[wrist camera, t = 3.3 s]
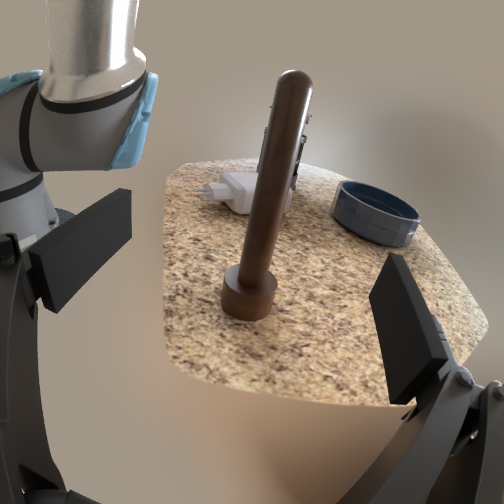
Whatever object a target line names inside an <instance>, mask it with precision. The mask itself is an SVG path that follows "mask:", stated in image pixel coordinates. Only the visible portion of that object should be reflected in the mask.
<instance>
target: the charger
mask: <svg viewBox="0 0 504 504" xmlns="http://www.w3.org/2000/svg"><path fill="white" fill-rule="evenodd" d="M257 176H258V173H251V172H224V173H223V174H222V175H221V176H220V182H219V183H207V184H204V186H203V188H204V189H194V191H195V192H197V191H204V193H198V194H197V195H198V196H202V195H205V196H206V197H207V199H208V200H209V201H210V202H221V201H224V202H225V203H226V204H227V205H228V206H229V207H230V208H231V209H232V210H233V211H235V212H236V213H238V214H250V211H251V206H252V201H253V196H254V191H255V186H256V181H257ZM292 196H293V191H292V189H291V188H290V189H289V193H288V197H287V200H286V204H285V208H284V212H283V213H287V212H288V211H289V208H290V204H291V200H292Z"/></svg>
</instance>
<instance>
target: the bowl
mask: <svg viewBox="0 0 504 504" xmlns="http://www.w3.org/2000/svg"><path fill="white" fill-rule="evenodd" d="M331 211H332V214H333V215H334V216H335V217H336V218H337V219H338V220H339V222H340V223H341V224H342V225H343V226H345V227H346V228H347V229H349V230H350V231H352V232H353V233H355V234H357V235H359V236H360V237H363V238H365V239H367V240H369V241H372V242H374V243H378V244H381V245H385V246H391V247H398V246H399V247H403V246H408V245H410V243H411V242H412V240H413V238H414V236H415V233H416V231H417V229H418V227H419V224H420V222H421V219H422V216H421V214H420V213H419V212H418V211H417V210H416V209H415V208H414V207H413V206H412V205H410V204H409V203H408V202H406V201H404V200H403V199H401V198H399V197H397V196H396V195H394V194H391V193H389V192H387V191H385V190H382V189H380V188H377V187H375V186H371V185H368V184H365V183H361V182H356V181H348V180H345V181H340V183H339V184H338V187H337V190H336V193H335V197H334V200H333V203H332V206H331Z"/></svg>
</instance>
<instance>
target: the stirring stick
mask: <svg viewBox="0 0 504 504" xmlns="http://www.w3.org/2000/svg"><path fill="white" fill-rule="evenodd" d="M312 92H313V83H312V80H311V78H310V77H309V76H308V75H307V74H306V73H304V72H302V71H300V70H289V71H286V72H284V73H283V74H282V75H281V76H280V77H279V79H278V81H277V86H276V90H275V95H274V100H273V105H272V109H271V114H270V119H269V123H268V128H267V133H266V138H265V142H264V147H263V152H262V157H261V162H260V167H259V171H258V176H257V181H256V186H255V191H254V196H253V201H252V206H251V211H250V216H249V221H248V226H247V231H246V236H245V241H244V246H243V251H242V256H241V261H240V264H237V265H234V266H231V267H230V268H229V269H227V271H226V272H225V275H224V281H223V287H222V293H221V305H222V307H223V309H224V310H225V311H226V312H227V313H228V314H229V315H231V316H232V317H234V318H237V319H240V320H244V321H256V320H260V319H262V318H264V317H265V316H267V315H268V313H269V312H270V309H271V306H272V303H273V300H274V296H275V293H276V290H277V286H278V283H277V279H276V278H275V276H274V275H273V274H272V273H271V272H270V271H268V270H269V266H270V262H271V258H272V255H273V251H274V247H275V243H276V239H277V236H278V232H279V228H280V224H281V220H282V216H283V212H284V208H285V204H286V200H287V197H288V193H289V189H290V185H291V181H292V177H293V172H294V168H295V164H296V160H297V156H298V152H299V148H300V144H301V140H302V135H303V131H304V127H305V123H306V119H307V114H308V110H309V106H310V101H311V97H312Z"/></svg>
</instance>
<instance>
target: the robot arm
mask: <svg viewBox="0 0 504 504" xmlns="http://www.w3.org/2000/svg"><path fill="white" fill-rule="evenodd" d="M138 3H139V0H46V30H47V46H48V56H49V66H48V67H47V68H46V69H45V71H42V70H31V71H26V72H21V73H18V74H15V75H12V76H7V77H5V78H1V79H0V504H100V503H98V502H96V501H94V500H91V499H89V498H87V497H85V496H83V495H81V494H78V493H76V492H74V491H72V490H70V491H69V492H67V491H66V488H65V485H64V482H63V479H62V476H61V474H60V472H59V470H58V468H57V467H56V465H55V463H54V462H53V460H52V457H51V454H50V450H49V445H48V441H47V435H46V430H45V424H44V418H43V411H42V404H41V396H40V385H39V373H38V352H37V320H38V306H37V303H36V301H37V300H38V299H39V298H40V297H41V299H42V302H43V305H44V307H45V308H46V309H48V310H50V311H52V312H54V313H56V314H57V313H58V312H59V311H60V310H61V309H62V307H64V305H65V304H66V303H67V302H68V301H69V300H70V299H71V298H72V297H73V296H74V295H75V294H76V292H77V291H78V290H79V289H80V288H81V287H82V286H83V285H84V284H85V283H86V282H87V281H88V280H89V279H90V278H91V277H92V276H93V275H94V274H95V273H96V272H97V271H98V270H99V269H100V268H101V266H103V265H104V264H105V263H106V262H107V261H108V260H109V259H110V258H111V257H112V256H113V255H114V254H115V253H116V252H117V251H118V250H119V249H120V248H121V247H122V246H123V245H124V244H125V243H126V242H128V241H129V240H130V239H131V238H132V223H131V190H127V189H121V188H119V189H117V190H115V191H114V192H112V193H110V194H109V195H107V196H105V197H104V198H102V199H101V200H99V201H98V202H96V203H94V204H93V205H91V206H90V207H88V208H86V209H85V210H83V211H82V212H80V213H79V214H77V215H76V216H74V217H73V218H71V219H70V220H68V221H67V222H65V223H64V224H63V225H61V226H60V221H59V217H58V215H57V213H56V211H55V209H54V206H53V204H52V202H51V200H50V197H49V195H48V193H47V191H46V188H45V186H44V182H43V172H45V171H81V170H105V171H109V170H111V169H123V168H130V167H133V166H135V165H136V164H137V163H138V162H139V160H140V158H141V155H142V152H143V147H144V143H145V138H146V133H147V129H148V123H149V117H150V114H151V109H152V106H153V102H154V97H155V93H156V88H157V84H158V76H157V75H156V74H153V73H151V72H146V59H145V56H144V55H143V54H142V53H141V52H140V51H139V50H137V49H136V48H134V47H133V42H134V33H135V24H136V17H137V9H138ZM369 300H370V304H371V308H372V312H373V317H374V321H375V325H376V330H377V334H378V339H379V344H380V348H381V353H382V359H383V364H384V369H385V375H386V381H387V387H388V393H389V400H390V404H397V405H407V404H408V403H409V402H410V401H411V400H412V399H413V398H414V397H416V402H417V404H416V405H415V406H414V407H413V408H412V409H411V410H410V411H409V412H408V413H406V414H405V415H404V416H403V417H402V418H401V419H402V420H403V419H405V420H404V421H403V423H402V425H401V426H400V427H399V429H398V430H397V432H396V433H395V435H394V436H393V437H392V439H391V440H390V442H389V443H388V444H387V446H386V447H385V448H384V450H383V451H382V452H381V453H380V455H379V456H378V458H377V459H376V460H375V461H374V462H373V464H372V465H371V466H370V467H369V468H368V470H367V471H366V472H365V473H364V474H363V475H362V477H361V478H360V479H359V480H358V481H357V482H356V483H355V485H354V486H353V487H352V488H351V489H350V490H349V491H348V492H347V493H346V494H345V495H344V496H343V497H342V498H341V499H340V500H339V501H338V502H337V503H336V504H422V503H423V502H424V500H425V499H426V497H427V496H428V494H429V496H428V499H427V502H426V504H501V501H502V495H503V490H504V385H503V384H501V383H500V382H499V381H496V380H493V381H491V382H490V383H489V384H488V385H487V386H486V387H485V388H484V387H482V386H479V385H476V384H475V381H474V378H473V376H472V374H471V373H470V372H469V371H468V370H467V369H466V368H465V367H463V366H460V365H457V362H456V359H455V357H454V354H453V352H452V349H451V347H450V344H449V342H447V341H448V339H447V337H446V334H444V333H445V332H444V330H443V327H442V325H441V323H440V322H439V321H438V319H437V318H436V317H435V316H434V315H431V314H430V311H429V309H428V307H427V305H426V303H425V300H424V298H423V296H422V294H421V292H420V290H419V288H418V286H417V284H416V282H415V280H414V278H413V276H412V274H411V272H410V270H409V268H408V266H407V264H406V262H405V260H404V258H403V256H401V255H397V254H394V253H390V252H389V255H388V257H387V259H386V261H385V263H384V266H383V268H382V270H381V272H380V274H379V276H378V278H377V280H376V282H375V284H374V286H373V288H372V290H371V292H370V294H369ZM477 430H478V433H477V436H476V437H475V438H474V432H475V431H477ZM22 489H23V491H24V492H25V493H24V494H23V492H22ZM429 492H430V493H429Z"/></svg>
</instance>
